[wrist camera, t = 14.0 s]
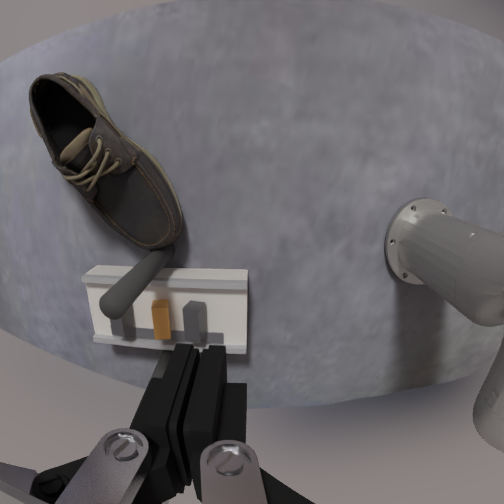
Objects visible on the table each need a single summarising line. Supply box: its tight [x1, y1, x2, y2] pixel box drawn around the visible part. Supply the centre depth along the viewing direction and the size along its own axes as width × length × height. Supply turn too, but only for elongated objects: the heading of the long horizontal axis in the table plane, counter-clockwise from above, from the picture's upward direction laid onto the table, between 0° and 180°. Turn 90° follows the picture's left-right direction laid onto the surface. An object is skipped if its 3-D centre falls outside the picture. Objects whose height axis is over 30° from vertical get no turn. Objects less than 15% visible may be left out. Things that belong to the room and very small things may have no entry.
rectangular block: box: [151, 299, 171, 340], centre depth 38 cm, size 2×4×2 cm, turn 179°
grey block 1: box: [110, 306, 134, 337], centre depth 38 cm, size 2×4×2 cm, turn 178°
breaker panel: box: [81, 265, 248, 354], centre depth 41 cm, size 22×10×5 cm, turn 89°
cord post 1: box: [99, 244, 175, 320], centre depth 33 cm, size 2×2×18 cm
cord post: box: [130, 350, 173, 426], centre depth 37 cm, size 2×2×18 cm
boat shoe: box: [29, 72, 182, 251], centre depth 33 cm, size 11×29×11 cm, turn 40°
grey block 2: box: [182, 300, 207, 343], centre depth 38 cm, size 2×4×2 cm, turn 179°
